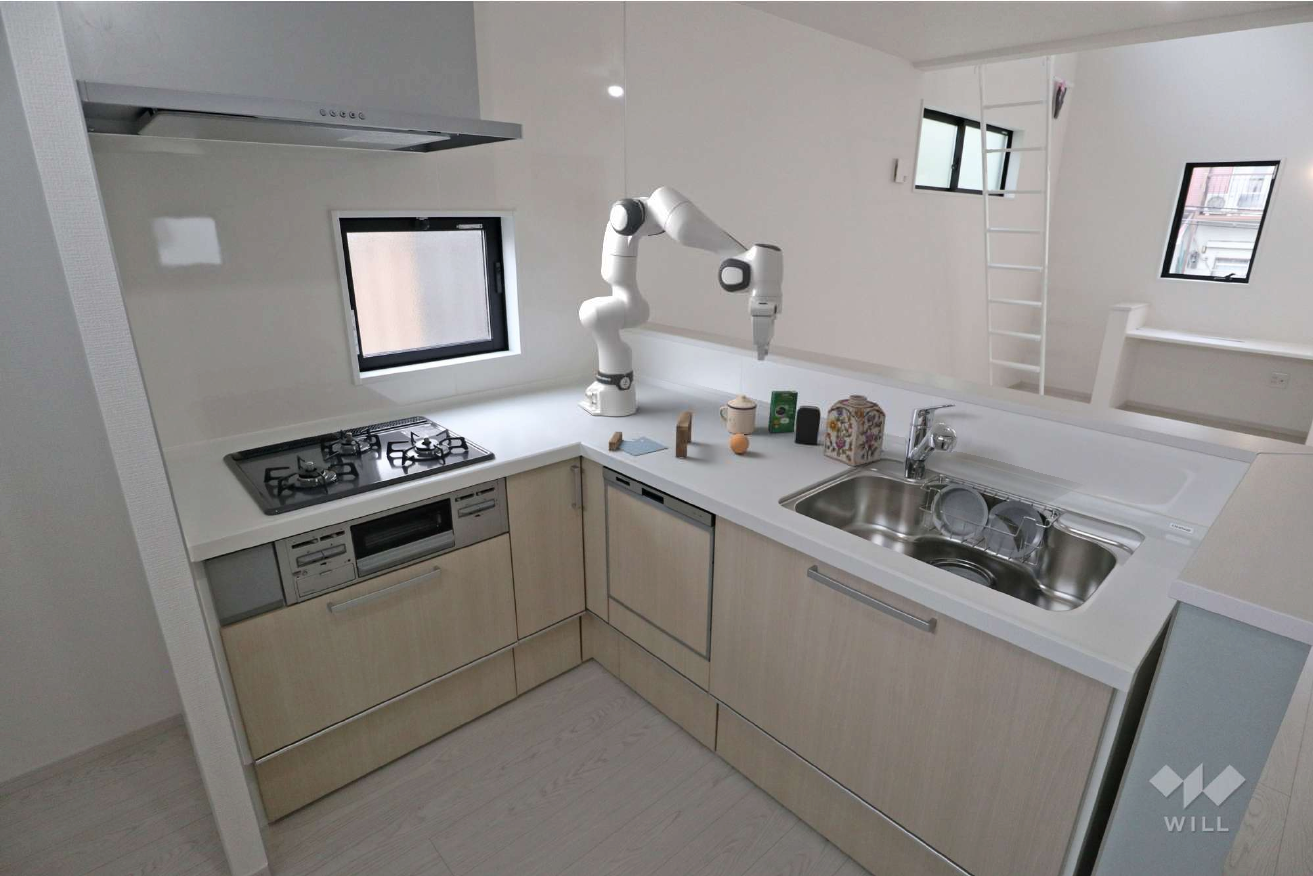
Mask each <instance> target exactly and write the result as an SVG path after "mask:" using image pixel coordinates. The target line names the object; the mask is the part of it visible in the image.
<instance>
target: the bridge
mask: <svg viewBox="0 0 1313 876" xmlns="http://www.w3.org/2000/svg"><path fill="white" fill-rule="evenodd" d="M692 421H693V411H684V410H682V411H681V413H680V415H679V418H678V420H677V424H676V425H675V427H676V429H675V432H676V433H675V458H676V457H683V458H682V459H686V458H687V456H688V443H692V425H693V424H692Z"/></svg>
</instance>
